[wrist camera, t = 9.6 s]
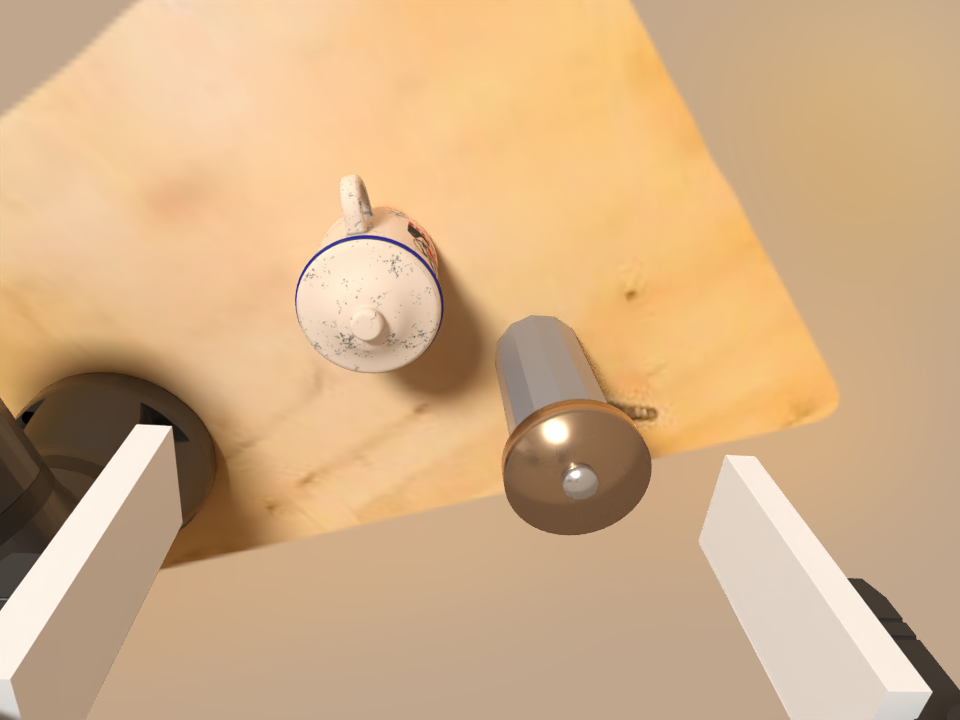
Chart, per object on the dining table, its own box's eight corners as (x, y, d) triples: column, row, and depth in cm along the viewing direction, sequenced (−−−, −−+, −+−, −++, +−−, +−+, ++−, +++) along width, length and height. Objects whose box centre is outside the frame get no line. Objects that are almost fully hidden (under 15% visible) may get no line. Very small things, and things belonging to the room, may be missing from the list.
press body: (488, 418, 56) (505, 531, 44) (500, 313, 52) (523, 404, 40) (566, 422, 57) (606, 534, 44) (584, 318, 53) (633, 410, 40)
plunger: (480, 416, 53) (498, 542, 40) (492, 314, 49) (515, 416, 36) (588, 421, 54) (639, 546, 41) (607, 321, 50) (670, 424, 37)
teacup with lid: (449, 311, 52) (455, 383, 41) (331, 329, 52) (307, 406, 41) (422, 150, 46) (421, 187, 36) (291, 170, 46) (251, 213, 36)
